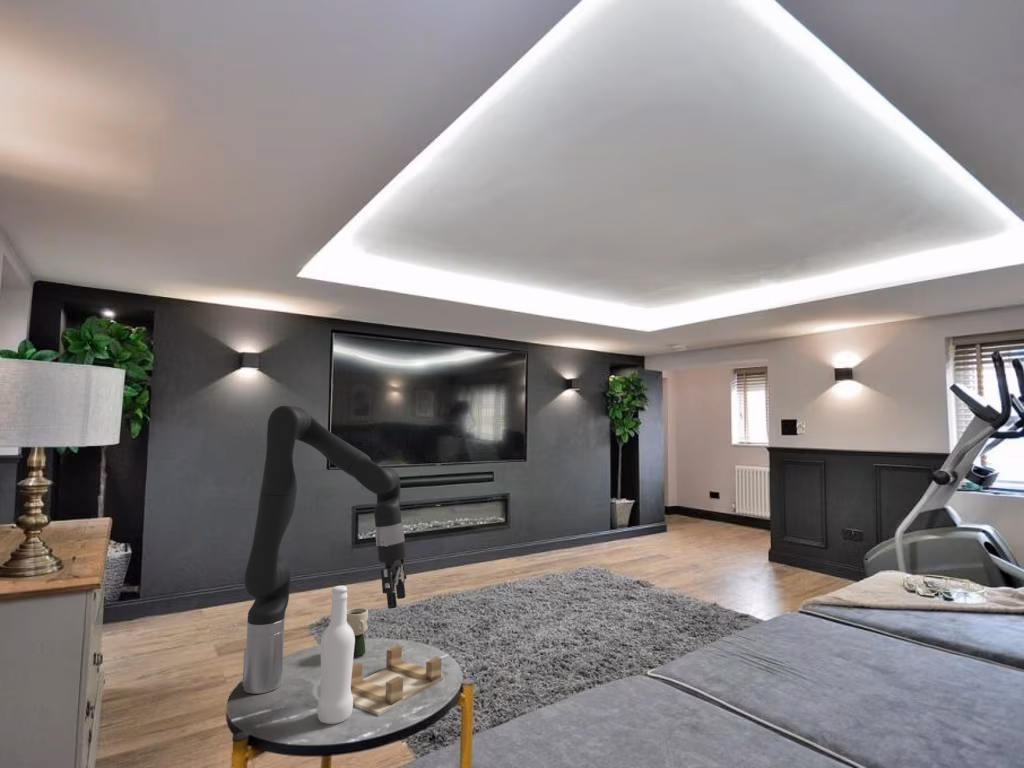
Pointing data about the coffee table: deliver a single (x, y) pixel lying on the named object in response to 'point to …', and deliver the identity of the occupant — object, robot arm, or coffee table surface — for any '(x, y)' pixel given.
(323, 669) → the bottle
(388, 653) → the bottle cradle
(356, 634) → the character mug
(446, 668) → the coffee table surface
